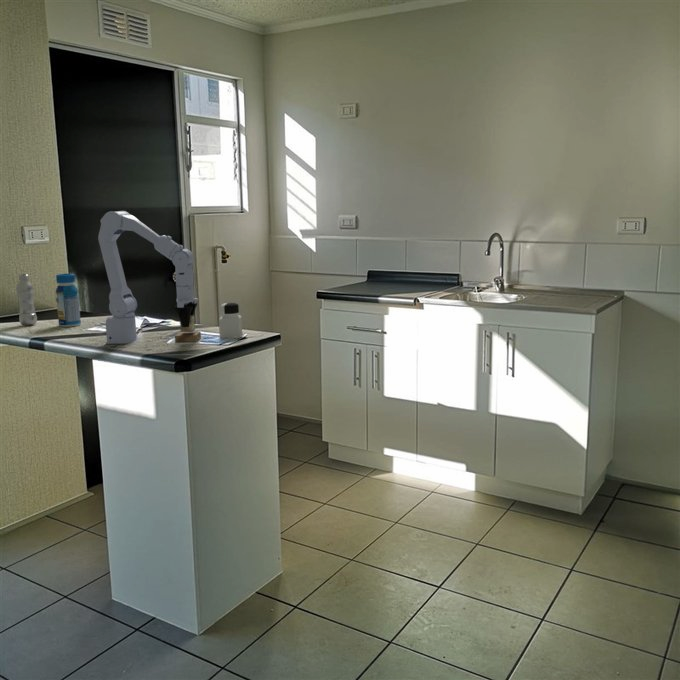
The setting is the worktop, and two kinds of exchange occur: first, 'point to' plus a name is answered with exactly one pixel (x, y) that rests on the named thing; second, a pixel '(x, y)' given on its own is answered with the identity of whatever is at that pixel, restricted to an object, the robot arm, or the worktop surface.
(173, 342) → the mat
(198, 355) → the worktop surface
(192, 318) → the maple block
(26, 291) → the plastic bottle
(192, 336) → the walnut slab
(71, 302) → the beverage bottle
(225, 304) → the medicine bottle
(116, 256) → the robot arm
